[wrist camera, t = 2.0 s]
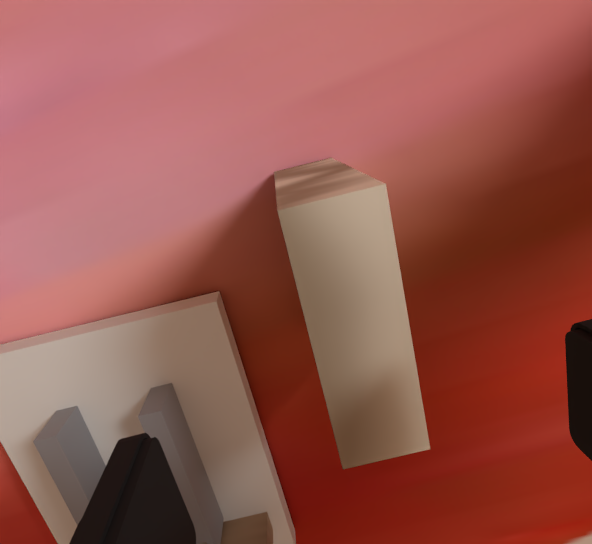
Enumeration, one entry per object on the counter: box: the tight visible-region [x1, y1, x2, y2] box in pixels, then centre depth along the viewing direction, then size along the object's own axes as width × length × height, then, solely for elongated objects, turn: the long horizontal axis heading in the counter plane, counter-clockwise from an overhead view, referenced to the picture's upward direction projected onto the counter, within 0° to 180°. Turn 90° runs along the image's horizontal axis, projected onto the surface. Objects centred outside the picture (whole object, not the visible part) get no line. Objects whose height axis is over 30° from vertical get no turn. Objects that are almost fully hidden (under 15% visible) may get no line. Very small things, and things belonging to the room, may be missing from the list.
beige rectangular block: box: [274, 158, 430, 469], centre depth 18 cm, size 3×9×11 cm, turn 14°
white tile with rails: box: [0, 291, 296, 544], centre depth 25 cm, size 14×18×4 cm
